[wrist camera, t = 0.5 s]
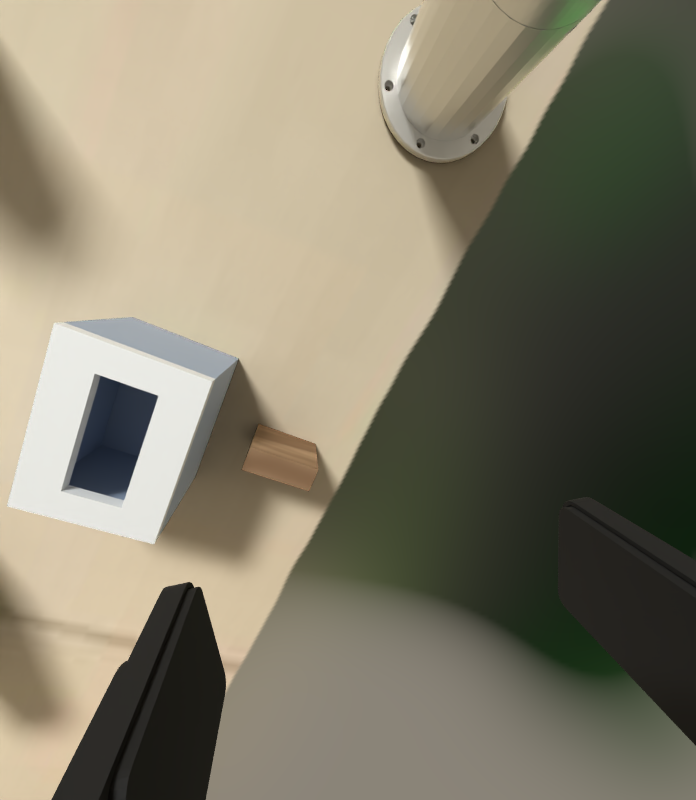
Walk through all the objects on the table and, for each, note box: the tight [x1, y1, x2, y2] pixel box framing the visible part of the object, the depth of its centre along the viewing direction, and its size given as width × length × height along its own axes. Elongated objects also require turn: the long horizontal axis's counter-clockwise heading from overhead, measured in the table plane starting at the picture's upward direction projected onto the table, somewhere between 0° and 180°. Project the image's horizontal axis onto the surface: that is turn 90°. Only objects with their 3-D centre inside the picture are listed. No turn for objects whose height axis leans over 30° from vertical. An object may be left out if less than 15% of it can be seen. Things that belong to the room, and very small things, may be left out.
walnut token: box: [242, 424, 318, 491], centre depth 38 cm, size 2×7×7 cm, turn 67°
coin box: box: [7, 317, 238, 544], centre depth 33 cm, size 15×11×12 cm
